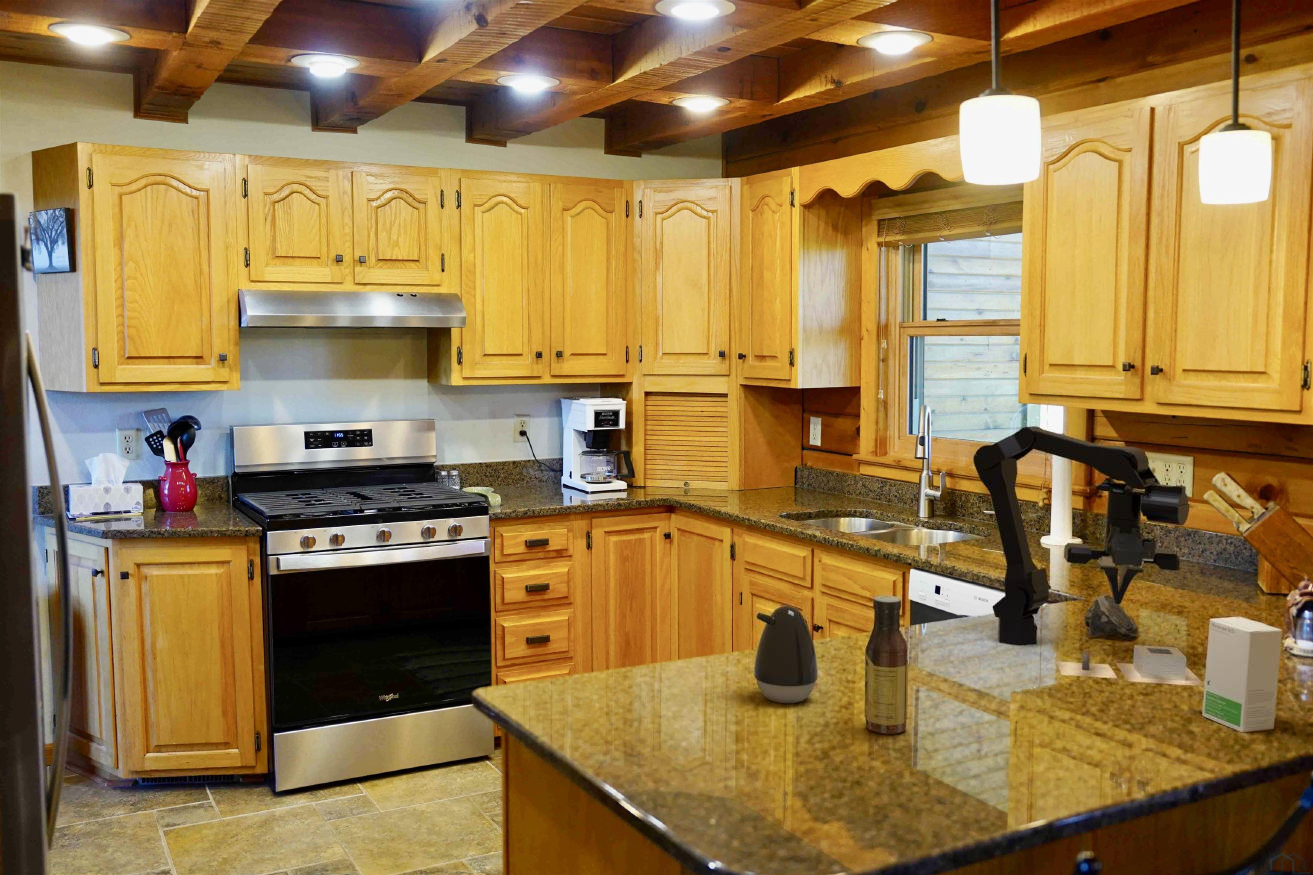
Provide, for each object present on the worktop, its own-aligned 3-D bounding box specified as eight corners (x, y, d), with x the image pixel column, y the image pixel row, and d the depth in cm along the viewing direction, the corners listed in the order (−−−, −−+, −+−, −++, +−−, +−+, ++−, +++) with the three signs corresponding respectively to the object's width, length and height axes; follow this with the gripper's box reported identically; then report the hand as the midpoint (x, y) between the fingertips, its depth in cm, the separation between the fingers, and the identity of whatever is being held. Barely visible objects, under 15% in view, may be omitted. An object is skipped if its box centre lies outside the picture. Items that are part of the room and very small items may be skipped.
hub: (1128, 688, 196) (1129, 663, 195) (1115, 669, 207) (1116, 646, 207) (1204, 693, 193) (1206, 668, 193) (1187, 673, 205) (1188, 650, 205)
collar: (1133, 667, 204) (1134, 645, 204) (1175, 670, 203) (1176, 647, 203) (1141, 678, 198) (1142, 655, 197) (1185, 680, 196) (1186, 657, 196)
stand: (1061, 681, 199) (1062, 658, 199) (1054, 667, 208) (1055, 645, 208) (1117, 685, 198) (1118, 661, 197) (1107, 671, 206) (1108, 649, 206)
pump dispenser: (742, 693, 190) (743, 601, 189) (798, 687, 194) (800, 597, 193) (769, 711, 181) (771, 614, 180) (828, 704, 184) (830, 610, 183)
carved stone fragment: (1145, 641, 226) (1121, 595, 227) (1100, 660, 229) (1077, 614, 229) (1137, 627, 237) (1114, 583, 237) (1094, 645, 239) (1071, 601, 239)
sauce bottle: (877, 720, 177) (880, 591, 176) (914, 728, 173) (918, 597, 172) (855, 730, 172) (858, 597, 171) (893, 739, 168) (897, 603, 167)
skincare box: (1200, 717, 180) (1205, 618, 179) (1234, 713, 183) (1238, 615, 181) (1244, 733, 172) (1249, 630, 171) (1278, 729, 175) (1283, 627, 174)
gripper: (1074, 521, 201) (1068, 609, 203) (1189, 528, 197) (1182, 618, 199) (1066, 511, 212) (1060, 595, 214) (1175, 518, 208) (1169, 604, 210)
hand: (1117, 603), depth 209 cm, fingers closed
